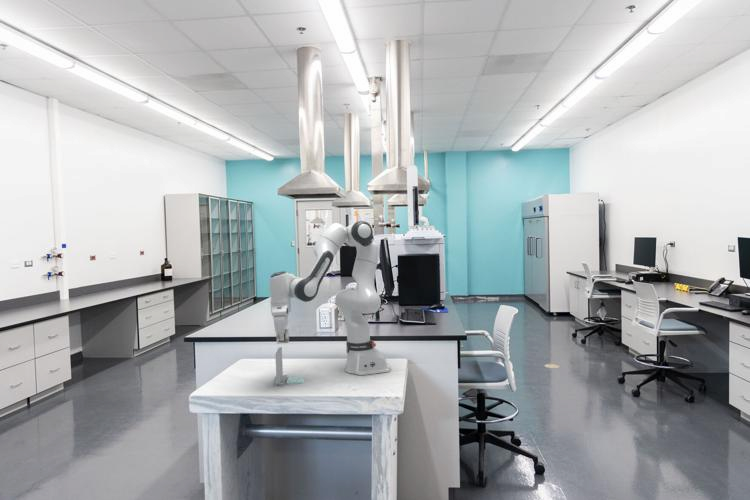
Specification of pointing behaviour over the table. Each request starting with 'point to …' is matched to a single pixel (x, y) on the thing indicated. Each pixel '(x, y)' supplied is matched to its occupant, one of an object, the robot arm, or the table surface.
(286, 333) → the letter cube
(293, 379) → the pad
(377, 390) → the table surface
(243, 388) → the table surface
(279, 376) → the screen
